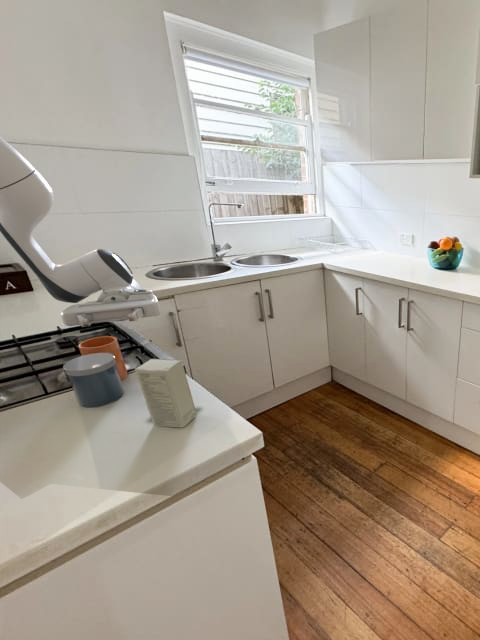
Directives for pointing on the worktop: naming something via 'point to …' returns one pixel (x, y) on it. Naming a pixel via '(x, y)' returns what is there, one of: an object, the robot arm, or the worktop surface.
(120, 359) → the cup
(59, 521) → the worktop surface
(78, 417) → the worktop surface
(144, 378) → the cosmetic box
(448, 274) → the worktop surface
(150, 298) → the robot arm
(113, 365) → the jar
